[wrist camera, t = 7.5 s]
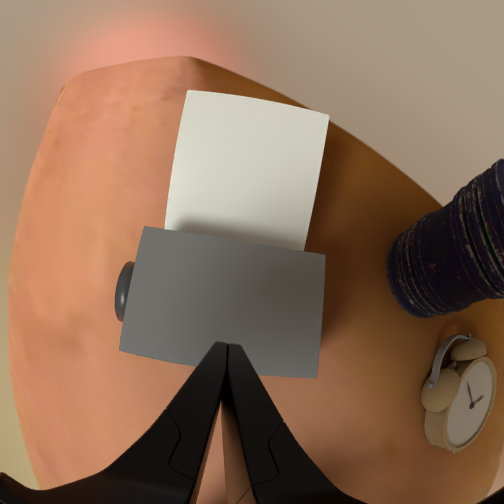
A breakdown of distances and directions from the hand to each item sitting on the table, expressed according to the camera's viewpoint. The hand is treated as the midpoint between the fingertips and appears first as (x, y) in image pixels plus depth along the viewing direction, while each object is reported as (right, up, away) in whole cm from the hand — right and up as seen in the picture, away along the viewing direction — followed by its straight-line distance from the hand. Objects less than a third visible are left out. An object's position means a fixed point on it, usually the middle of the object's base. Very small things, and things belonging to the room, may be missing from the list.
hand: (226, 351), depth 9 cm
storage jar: (+19, +1, +17) cm, 25 cm away
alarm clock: (+23, -13, +13) cm, 30 cm away
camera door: (-1, +4, +14) cm, 14 cm away
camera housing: (-1, -2, +13) cm, 13 cm away
